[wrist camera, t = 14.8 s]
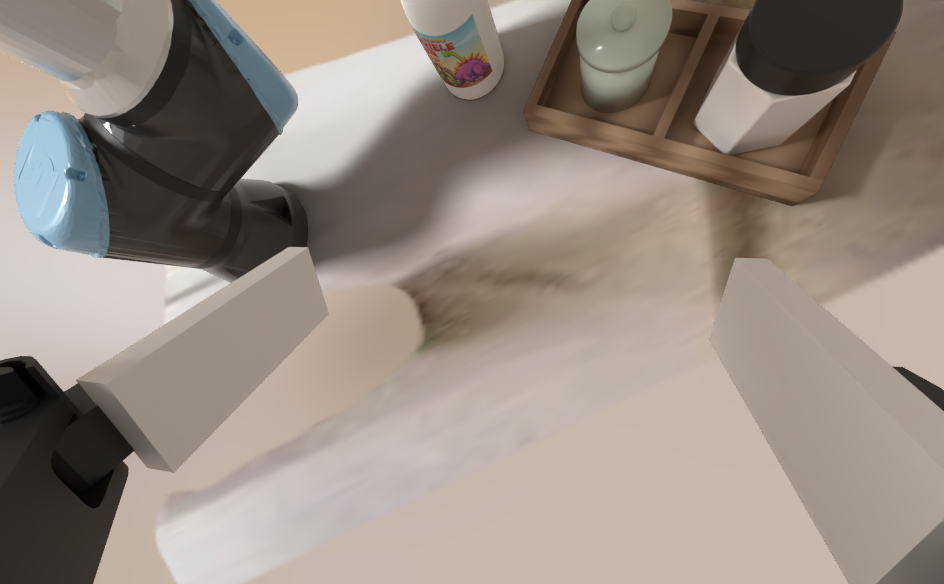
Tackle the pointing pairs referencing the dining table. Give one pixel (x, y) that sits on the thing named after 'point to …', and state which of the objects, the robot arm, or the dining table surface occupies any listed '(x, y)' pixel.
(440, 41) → the milk bottle
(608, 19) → the sugar pot
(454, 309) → the dining table surface
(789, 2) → the jar
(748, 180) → the caddy
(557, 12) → the dining table surface
